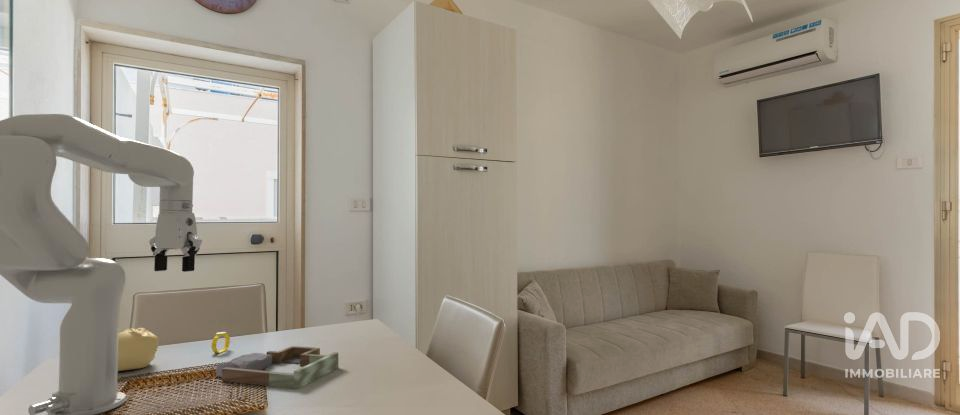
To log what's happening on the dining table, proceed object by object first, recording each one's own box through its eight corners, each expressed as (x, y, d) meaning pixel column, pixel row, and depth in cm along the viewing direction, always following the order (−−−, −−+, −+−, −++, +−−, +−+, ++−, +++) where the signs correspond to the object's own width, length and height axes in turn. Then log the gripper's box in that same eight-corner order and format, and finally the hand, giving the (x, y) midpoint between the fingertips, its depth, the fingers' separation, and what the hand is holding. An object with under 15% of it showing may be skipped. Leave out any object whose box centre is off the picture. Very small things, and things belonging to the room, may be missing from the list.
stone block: (212, 384, 116) (246, 378, 114) (209, 365, 116) (243, 359, 115) (244, 371, 128) (276, 366, 126) (242, 354, 128) (273, 348, 126)
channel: (298, 388, 107) (298, 371, 107) (221, 380, 113) (222, 364, 113) (350, 361, 128) (350, 346, 128) (284, 355, 134) (284, 342, 134)
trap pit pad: (302, 364, 126) (302, 363, 126) (282, 362, 127) (282, 361, 127) (312, 359, 130) (312, 358, 130) (293, 357, 132) (293, 356, 132)
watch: (223, 350, 142) (224, 330, 143) (231, 350, 142) (232, 331, 142) (208, 354, 136) (210, 334, 137) (217, 354, 136) (218, 334, 136)
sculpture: (165, 366, 126) (165, 326, 126) (111, 378, 116) (112, 335, 116) (147, 359, 132) (148, 322, 133) (95, 370, 122) (96, 330, 123)
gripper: (212, 207, 125) (211, 270, 124) (165, 209, 130) (163, 269, 129) (188, 206, 118) (186, 272, 117) (138, 208, 123) (136, 271, 122)
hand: (174, 271), depth 123 cm, fingers open, 9 cm apart
